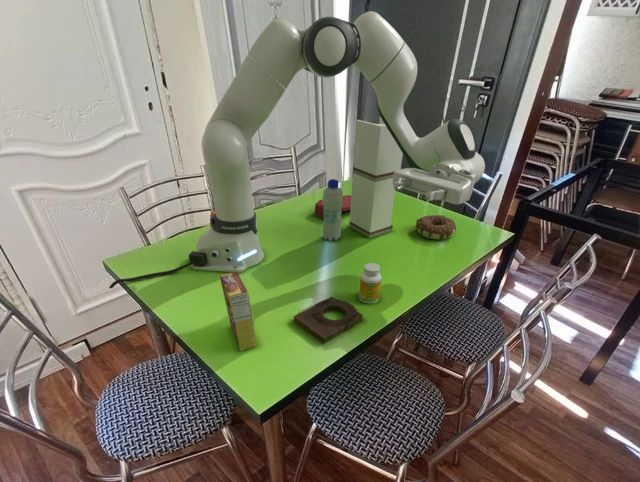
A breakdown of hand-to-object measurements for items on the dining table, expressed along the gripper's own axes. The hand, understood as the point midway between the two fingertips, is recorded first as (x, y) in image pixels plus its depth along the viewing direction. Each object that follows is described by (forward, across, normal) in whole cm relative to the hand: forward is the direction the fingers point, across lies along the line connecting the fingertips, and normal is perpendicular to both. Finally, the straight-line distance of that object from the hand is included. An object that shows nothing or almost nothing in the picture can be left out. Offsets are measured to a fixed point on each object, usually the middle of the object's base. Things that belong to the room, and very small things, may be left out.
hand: (411, 191), depth 89 cm
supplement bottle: (+12, 0, +26) cm, 29 cm away
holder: (+27, 0, +26) cm, 38 cm away
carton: (-27, -49, +26) cm, 62 cm away
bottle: (-6, -33, +26) cm, 42 cm away
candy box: (+46, -9, +26) cm, 54 cm away
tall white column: (-22, -29, +26) cm, 45 cm away
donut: (-36, -12, +26) cm, 46 cm away
